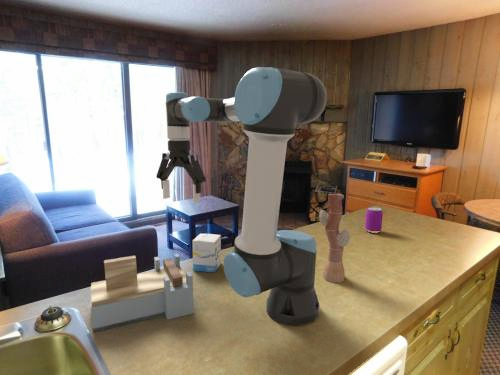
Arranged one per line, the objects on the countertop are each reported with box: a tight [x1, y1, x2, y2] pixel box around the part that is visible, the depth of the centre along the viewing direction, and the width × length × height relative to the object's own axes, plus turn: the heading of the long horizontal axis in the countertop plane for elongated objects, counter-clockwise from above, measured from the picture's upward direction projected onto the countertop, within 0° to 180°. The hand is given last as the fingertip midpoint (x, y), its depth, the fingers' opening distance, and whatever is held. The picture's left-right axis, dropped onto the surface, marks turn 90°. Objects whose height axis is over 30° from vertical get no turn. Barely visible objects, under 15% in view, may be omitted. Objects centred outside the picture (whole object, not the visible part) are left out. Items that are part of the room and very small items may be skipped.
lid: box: [90, 255, 186, 307], centre depth 93 cm, size 11×25×10 cm, turn 116°
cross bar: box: [162, 257, 183, 287], centre depth 97 cm, size 14×2×2 cm, turn 26°
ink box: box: [192, 233, 222, 273], centre depth 122 cm, size 8×8×12 cm
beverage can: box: [364, 206, 384, 232], centre depth 163 cm, size 8×8×12 cm
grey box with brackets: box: [90, 253, 195, 333], centre depth 94 cm, size 17×26×12 cm, turn 116°
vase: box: [318, 192, 351, 283], centre depth 113 cm, size 10×7×30 cm
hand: (181, 200), depth 116 cm, fingers open, 13 cm apart
